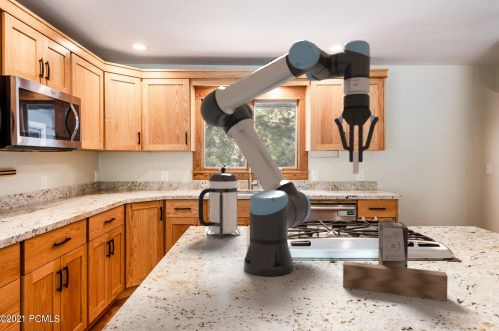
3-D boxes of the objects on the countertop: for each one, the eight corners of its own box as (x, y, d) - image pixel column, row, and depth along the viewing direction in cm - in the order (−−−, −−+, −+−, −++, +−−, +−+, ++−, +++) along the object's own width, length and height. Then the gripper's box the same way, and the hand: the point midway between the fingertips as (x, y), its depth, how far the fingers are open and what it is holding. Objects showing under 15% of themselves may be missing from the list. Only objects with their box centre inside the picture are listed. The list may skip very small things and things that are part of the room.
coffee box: (408, 290, 86) (408, 228, 86) (381, 288, 88) (382, 226, 87) (401, 278, 95) (402, 221, 94) (377, 276, 96) (378, 220, 96)
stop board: (342, 286, 88) (343, 264, 88) (344, 282, 91) (344, 260, 91) (447, 301, 80) (447, 276, 79) (444, 296, 82) (445, 272, 82)
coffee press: (208, 230, 157) (208, 166, 156) (242, 231, 155) (242, 166, 154) (198, 239, 140) (197, 167, 139) (235, 240, 137) (235, 167, 137)
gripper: (332, 94, 99) (332, 173, 100) (379, 90, 95) (378, 174, 95) (335, 98, 106) (335, 172, 107) (379, 95, 102) (379, 173, 102)
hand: (355, 173), depth 101 cm, fingers closed
